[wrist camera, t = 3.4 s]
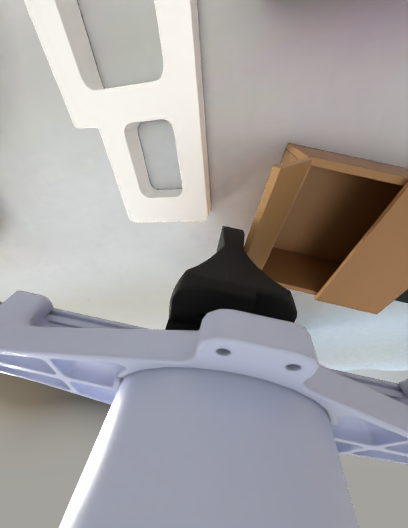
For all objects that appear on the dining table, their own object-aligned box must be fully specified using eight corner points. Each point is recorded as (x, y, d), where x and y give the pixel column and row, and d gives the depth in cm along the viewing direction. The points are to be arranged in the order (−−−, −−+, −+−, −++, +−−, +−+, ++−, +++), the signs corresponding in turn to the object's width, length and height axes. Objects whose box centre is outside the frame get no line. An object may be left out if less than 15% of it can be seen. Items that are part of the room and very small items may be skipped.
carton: (250, 243, 24) (252, 285, 18) (288, 142, 17) (311, 157, 11) (343, 264, 24) (377, 315, 18) (420, 171, 17) (516, 202, 11)
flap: (253, 285, 18) (250, 283, 18) (312, 159, 11) (307, 157, 12) (220, 325, 14) (216, 322, 14) (281, 167, 7) (273, 165, 8)
